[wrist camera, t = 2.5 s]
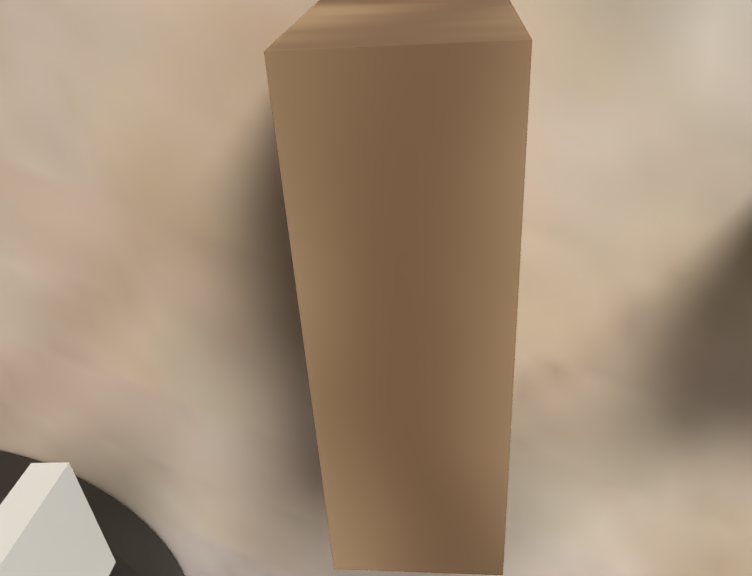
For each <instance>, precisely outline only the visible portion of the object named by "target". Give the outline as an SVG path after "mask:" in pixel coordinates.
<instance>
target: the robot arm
mask: <svg viewBox="0 0 752 576" xmlns="http://www.w3.org/2000/svg"><path fill="white" fill-rule="evenodd" d="M0 576H184V575H183V572H182V570H181V568H180V566H179V565H178V563H177V561H176V559H175V558H174V556H173V555H172V554H171V552H170V551H169V549H168V548H167V547H166V545H165V544H164V543H163V542H162V540H161V539H160V538H159V537H158V536H157V535H156V534H155V533H154V532H153V531H152V530H151V529H150V528H149V527H148V526H147V525H146V524H145V523H144V522H143V521H142V520H141V519H140V518H138V517H137V516H136V515H135V514H134V513H132V512H131V511H130V510H129V509H127V508H126V507H125V506H123V505H122V504H121V503H119V502H118V501H116V500H115V499H113V498H112V497H110V496H109V495H107V494H106V493H104V492H102V491H101V490H99V489H97V488H96V487H94V486H92V485H90V484H88V483H86V482H85V481H83V480H81V479H79V478H77V477H76V476H75V474H74V472H73V470H72V467H71V465H70V463H69V462H63V463H41V462H38V461H35V460H31V459H28V458H25V457H21V456H18V455H14V454H10V453H6V452H1V451H0Z"/></svg>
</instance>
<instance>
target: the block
mask: <svg viewBox="0 0 752 576" xmlns="http://www.w3.org/2000/svg"><path fill="white" fill-rule="evenodd" d="M531 51H532V39H531V37H530V35H529V33H528V32H527V30H526V28H525V26H524V25H523V23H522V21H521V19H520V18H519V16H518V14H517V12H516V11H515V9H514V7H513V5H512V4H511V2H510V0H320V1H319V2H317V3H316V4H315V5H314V6H313V7H312V8H311V9H310V10H309V11H308V12H307V13H305V14H304V15H303V16H302V17H301V18H300V19H299V20H298V21H297V22H296V23H294V24H293V25H292V26H291V27H290V28H289V29H288V30H287V31H286V32H285V33H284V34H282V35H281V36H280V37H279V38H278V39H277V40H276V41H275V42H274V43H273V44H272V45H270V46H269V47H268V48H267V49H266V50H265V51H264V55H265V62H266V70H267V77H268V84H269V92H270V99H271V107H272V114H273V121H274V129H275V136H276V143H277V151H278V158H279V166H280V173H281V180H282V188H283V195H284V203H285V210H286V217H287V225H288V232H289V239H290V247H291V254H292V262H293V269H294V276H295V284H296V291H297V299H298V306H299V313H300V321H301V328H302V335H303V343H304V350H305V358H306V365H307V372H308V380H309V387H310V395H311V402H312V409H313V417H314V424H315V431H316V439H317V446H318V454H319V461H320V468H321V476H322V483H323V491H324V498H325V505H326V513H327V520H328V527H329V535H330V542H331V550H332V557H333V564H334V569H350V570H377V571H404V572H431V573H458V574H486V575H503V562H504V544H505V525H506V507H507V489H508V471H509V452H510V434H511V416H512V397H513V379H514V361H515V343H516V324H517V306H518V288H519V270H520V251H521V233H522V215H523V197H524V178H525V160H526V142H527V124H528V105H529V87H530V69H531Z"/></svg>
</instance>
